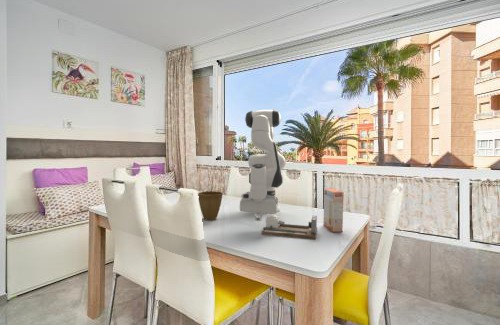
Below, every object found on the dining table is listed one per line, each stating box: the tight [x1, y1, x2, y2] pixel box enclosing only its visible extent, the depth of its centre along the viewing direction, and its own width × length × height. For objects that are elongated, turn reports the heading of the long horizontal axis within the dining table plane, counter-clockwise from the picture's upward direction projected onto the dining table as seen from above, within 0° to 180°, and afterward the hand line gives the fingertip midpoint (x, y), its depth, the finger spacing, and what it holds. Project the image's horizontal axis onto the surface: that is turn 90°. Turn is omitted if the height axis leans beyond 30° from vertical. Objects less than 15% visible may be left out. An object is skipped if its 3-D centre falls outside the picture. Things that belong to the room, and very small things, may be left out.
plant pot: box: [197, 190, 223, 221], centre depth 166 cm, size 15×15×16 cm
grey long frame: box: [262, 215, 318, 235], centre depth 140 cm, size 10×26×7 cm, turn 73°
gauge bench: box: [261, 226, 318, 240], centre depth 141 cm, size 15×26×2 cm, turn 73°
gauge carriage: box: [265, 214, 286, 228], centre depth 141 cm, size 10×9×6 cm
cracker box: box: [322, 188, 344, 233], centre depth 147 cm, size 14×6×21 cm, turn 3°
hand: (258, 220), depth 145 cm, fingers closed
